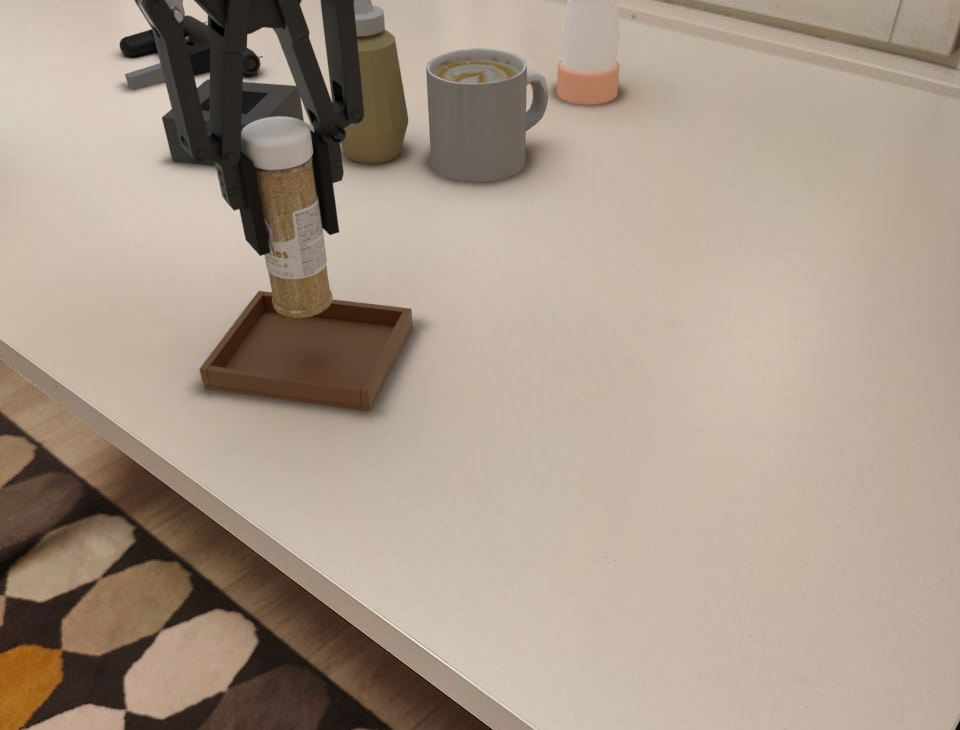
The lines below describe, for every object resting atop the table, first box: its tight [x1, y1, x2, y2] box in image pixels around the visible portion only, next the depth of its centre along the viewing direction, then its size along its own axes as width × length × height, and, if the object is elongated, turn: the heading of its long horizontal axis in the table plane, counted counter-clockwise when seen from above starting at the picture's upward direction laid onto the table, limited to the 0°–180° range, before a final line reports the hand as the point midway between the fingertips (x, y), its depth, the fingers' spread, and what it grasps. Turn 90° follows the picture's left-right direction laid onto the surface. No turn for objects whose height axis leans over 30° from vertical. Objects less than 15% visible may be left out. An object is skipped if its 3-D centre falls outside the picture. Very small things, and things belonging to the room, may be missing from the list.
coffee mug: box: [425, 47, 549, 183], centre depth 97 cm, size 13×10×10 cm
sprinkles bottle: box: [241, 116, 333, 318], centre depth 66 cm, size 5×5×13 cm
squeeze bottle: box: [340, 0, 409, 165], centre depth 96 cm, size 8×8×18 cm
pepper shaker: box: [556, 0, 620, 106], centre depth 107 cm, size 7×7×19 cm
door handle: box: [119, 15, 264, 90], centre depth 122 cm, size 3×20×16 cm
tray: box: [199, 290, 414, 412], centre depth 74 cm, size 13×11×2 cm
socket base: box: [161, 78, 305, 167], centre depth 102 cm, size 11×11×5 cm
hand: (292, 235), depth 67 cm, fingers closed on sprinkles bottle, 5 cm apart
